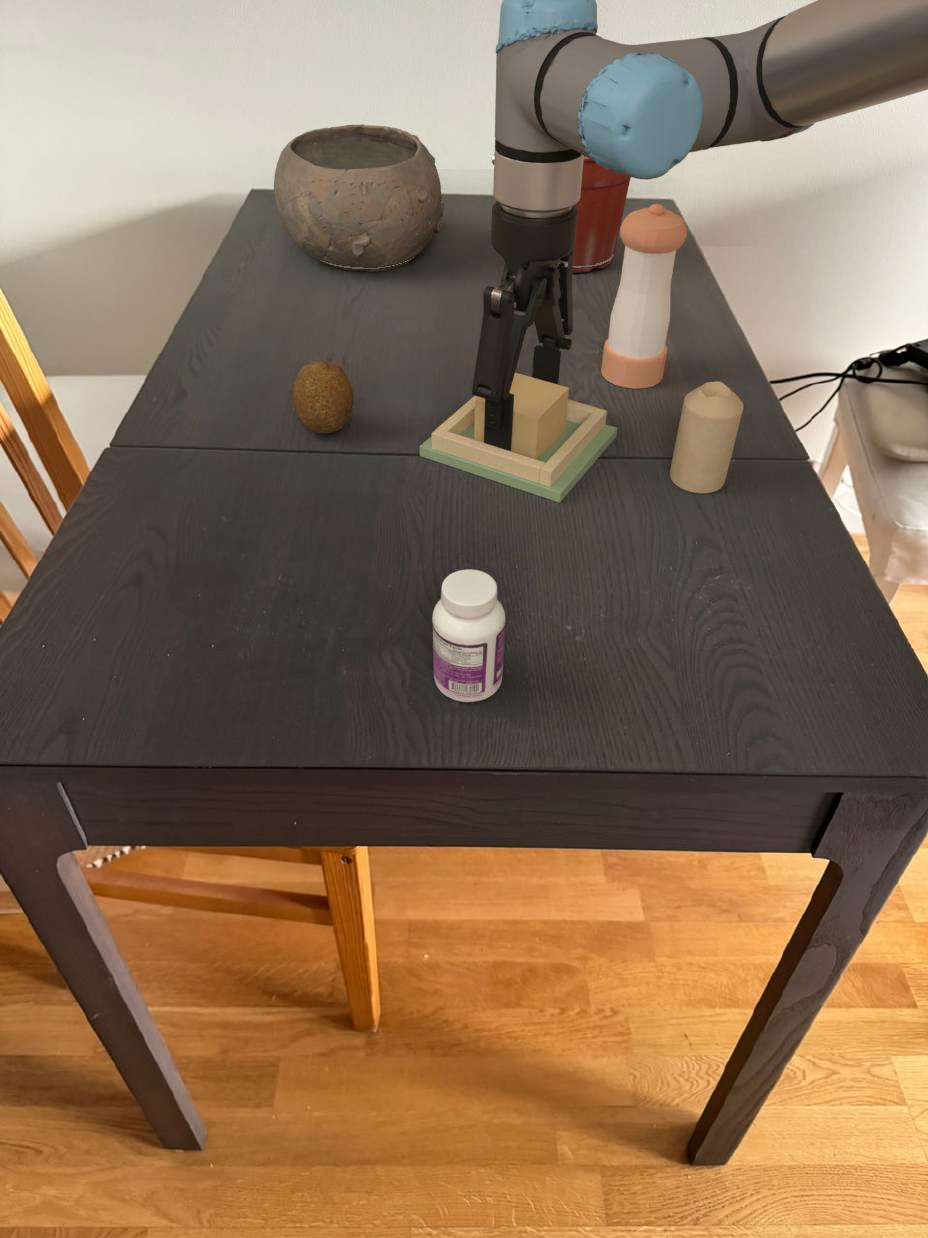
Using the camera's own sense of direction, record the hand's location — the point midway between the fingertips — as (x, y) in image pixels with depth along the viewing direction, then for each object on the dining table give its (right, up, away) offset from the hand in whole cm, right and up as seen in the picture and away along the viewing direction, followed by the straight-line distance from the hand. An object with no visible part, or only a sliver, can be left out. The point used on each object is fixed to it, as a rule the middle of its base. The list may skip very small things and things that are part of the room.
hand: (520, 428), depth 96 cm
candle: (+18, -6, -2) cm, 19 cm away
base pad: (0, -2, +2) cm, 2 cm away
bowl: (-21, +33, +39) cm, 55 cm away
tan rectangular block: (0, -1, +1) cm, 1 cm away
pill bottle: (-6, -25, -23) cm, 34 cm away
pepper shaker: (+14, +9, +14) cm, 22 cm away
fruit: (-21, 0, +3) cm, 21 cm away
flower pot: (+10, +33, +39) cm, 52 cm away
